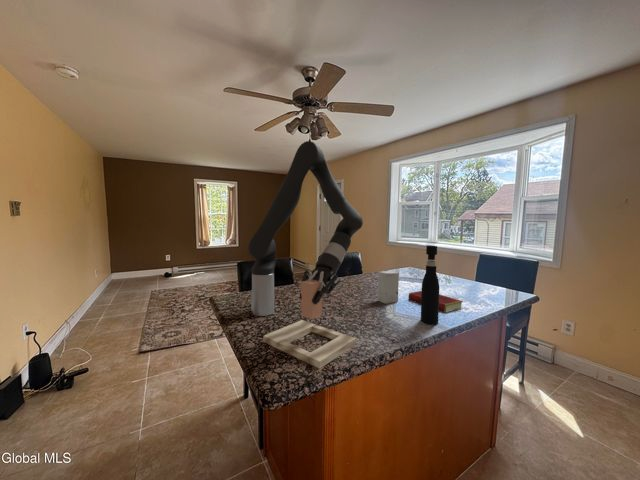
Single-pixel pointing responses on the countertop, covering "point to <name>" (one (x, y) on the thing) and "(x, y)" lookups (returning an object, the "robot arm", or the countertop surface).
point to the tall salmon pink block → (310, 299)
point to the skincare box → (388, 287)
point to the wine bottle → (430, 290)
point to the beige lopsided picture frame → (319, 355)
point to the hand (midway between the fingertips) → (307, 301)
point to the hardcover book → (444, 301)
